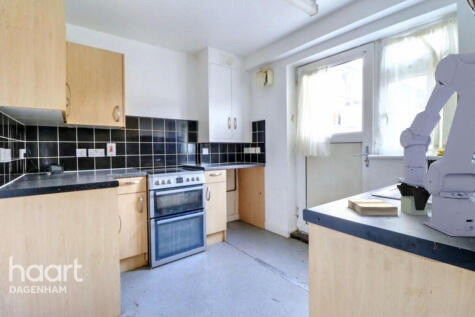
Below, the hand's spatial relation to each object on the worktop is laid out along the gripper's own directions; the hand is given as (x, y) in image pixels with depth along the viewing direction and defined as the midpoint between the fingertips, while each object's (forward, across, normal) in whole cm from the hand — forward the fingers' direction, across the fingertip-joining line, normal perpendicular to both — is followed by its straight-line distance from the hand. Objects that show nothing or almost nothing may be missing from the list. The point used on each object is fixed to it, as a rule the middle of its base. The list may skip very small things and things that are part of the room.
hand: (413, 207), depth 74 cm
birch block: (+2, +3, +12) cm, 13 cm away
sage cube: (+2, 0, 0) cm, 2 cm away
